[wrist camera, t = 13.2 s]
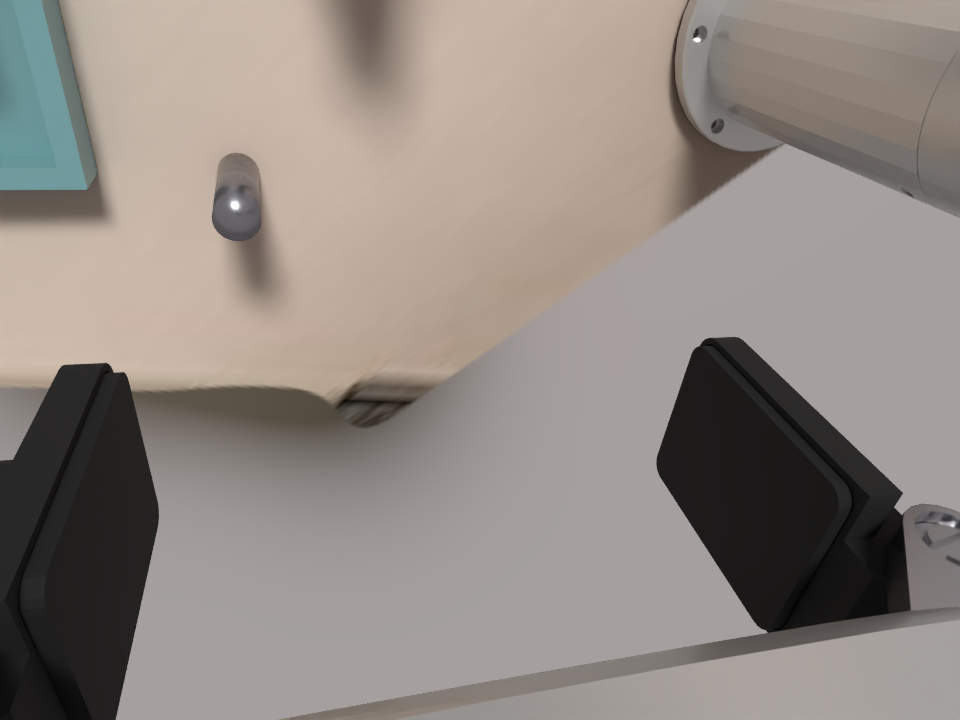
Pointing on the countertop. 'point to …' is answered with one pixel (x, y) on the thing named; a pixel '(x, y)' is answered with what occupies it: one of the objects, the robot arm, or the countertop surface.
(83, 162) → the tray
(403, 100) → the countertop surface
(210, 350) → the countertop surface
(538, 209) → the countertop surface
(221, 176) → the grey metallic cylinder
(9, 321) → the countertop surface
